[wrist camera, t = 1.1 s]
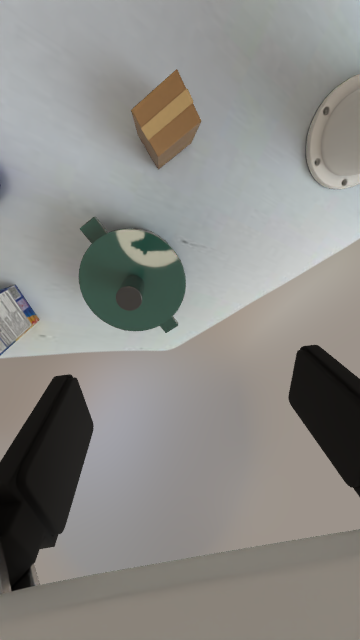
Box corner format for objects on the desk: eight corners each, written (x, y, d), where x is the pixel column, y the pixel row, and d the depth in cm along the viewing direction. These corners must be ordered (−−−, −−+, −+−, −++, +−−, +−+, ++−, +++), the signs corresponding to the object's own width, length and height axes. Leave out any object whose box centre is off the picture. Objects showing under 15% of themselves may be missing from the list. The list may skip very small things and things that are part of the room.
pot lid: (143, 203, 27) (139, 201, 21) (203, 294, 32) (212, 311, 27) (58, 270, 29) (33, 284, 24) (127, 343, 35) (121, 368, 29)
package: (172, 104, 28) (177, 67, 21) (191, 142, 30) (202, 120, 23) (137, 135, 29) (130, 109, 22) (158, 169, 31) (157, 157, 24)
